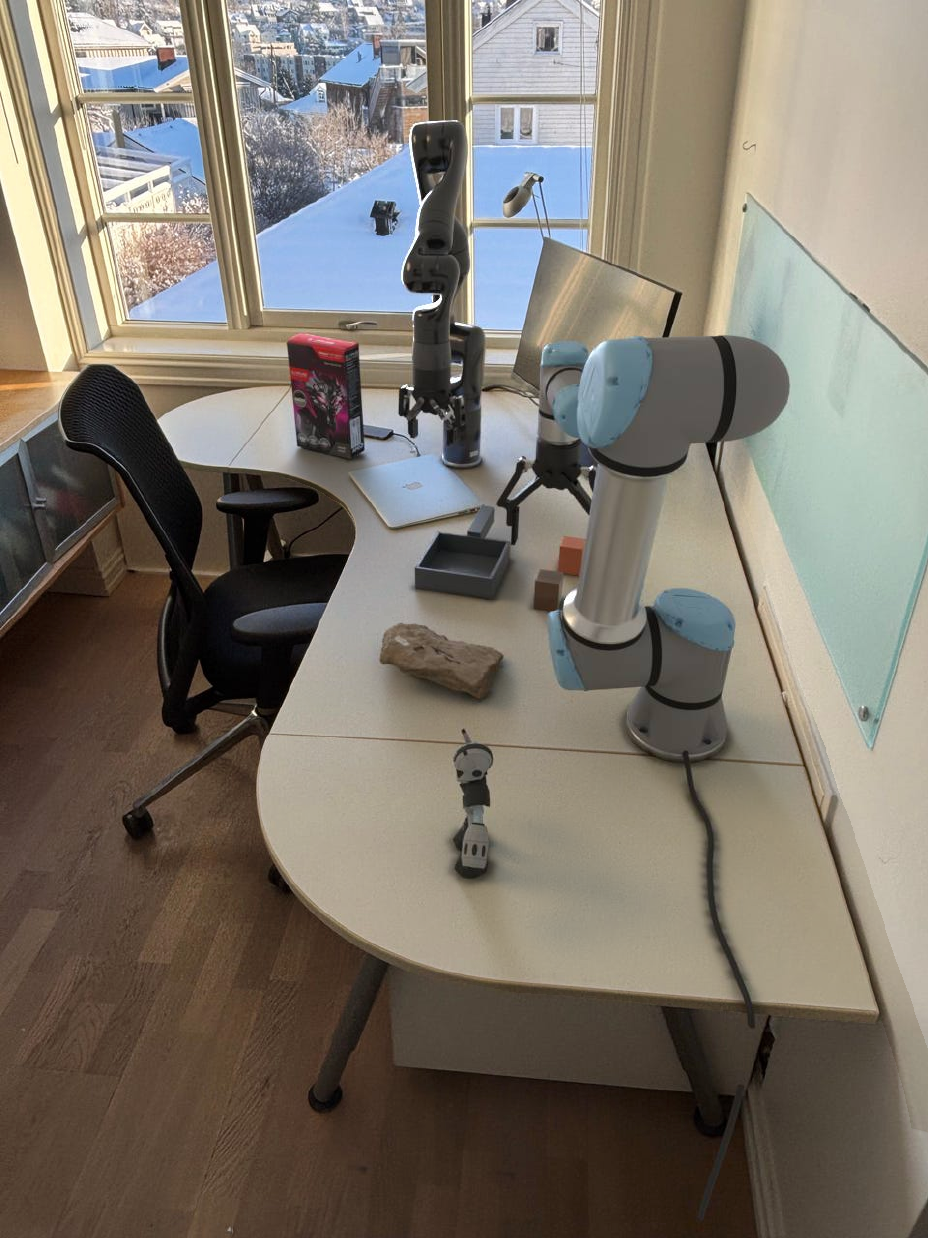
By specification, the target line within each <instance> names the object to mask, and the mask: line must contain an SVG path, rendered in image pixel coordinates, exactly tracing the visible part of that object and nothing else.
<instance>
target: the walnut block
mask: <svg viewBox="0 0 928 1238" xmlns="http://www.w3.org/2000/svg"><path fill="white" fill-rule="evenodd" d="M563 584H564V572H558V570H549V569H543V568H539V570H538V572H537V575H536V578H535V580H534V593H533V594H534V595H533V609H536V610H540V611H541V610H543V611H548V612H553V611H556V610H559V608H560V605H561V602H562V597H563V587H564V586H563Z"/></svg>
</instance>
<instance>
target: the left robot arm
mask: <svg viewBox="0 0 928 1238" xmlns="http://www.w3.org/2000/svg"><path fill="white" fill-rule="evenodd" d="M409 149H410V156H411V162H412V168H413V172H414V178H415V183H416V187H417V194H418V199H419V205H420V207H419V209H418V212H417V216H416V217H417V218H416V225H415V237H414V240H413V243H412V244H411V246H410V249H409V250H408V253H407V255H406V256H405V260H404V261H403V265H402V268H401V269H402V270H401V281H402V284H403V286H404V288H405V289H406V291H407V292H409V293H410V294H413V295H431V303H429V304H425V305H421V306H418V307H416V308H415V309H414V310H413V313H412V340H413V341H412V347H411V363H412V364H411V365H412V366H411V367H412V369H411V371H412V386H413V387H411V386H410V384H405V385H403V386H401V387H400V388H399V389H398V411H397V412H398V413H397V414H398V416H399V417H403V418H405V419H406V421H407V434H408V435H409V438H410V439H416V438H417V437H418V436H419V418H417V417H418V416H419V414H420V413H421V412H422V413H423V414H432V415H434V416H438V417H439V419H440V420H441V421H442V463H443V464H444V465H445V466H448V467H450V468H455V469H469V468H473V467H474V468H475V467H476V466H478V465H479V464H480V463H481V461H482V456H481V447H482V442H481V441H482V393H483V384H484V379H485V366H486V365H485V364H486V353H487V338H486V337H487V336H486V333H485V331H484V329H483V328H482V327H480V326H478V325H473V324H468V323H462V322H457V320H456V314H455V307H456V305H455V304H456V300H457V297H458V295H459V293H460V291H461V290H462V287H463V286H464V284H465V282H466V280H467V278H468V275H469V273H470V270H471V255H470V245H469V238H468V237H469V236H468V234H467V232H466V230H465V228H464V226H463V225H462V223H461V222H460V221H459V219H458V218H457V217H456V211H457V210H456V209H457V205H458V201H459V199H460V198H459V197H460V195H461V194H460V193H461V190H462V186H463V182H464V177H465V175H466V174H465V173H466V171H467V166H468V165H467V164H468V157H469V156H468V155H469V141H468V136H467V130H466V127H465V125H464V123H462V121H459V120H438V121H426V122H418V123H415V124H413V126H412V127H411V129H410V134H409ZM433 175H442V177H441V178H440V179H439V181H438V182H437V183H436V182H435V179H434V176H433ZM452 365H455V366H459V367H461V374H456V375H452ZM411 397H412V398H413V400H414V401H415V404H414V405H413V406H412V407H411ZM410 408H411V409H410Z"/></svg>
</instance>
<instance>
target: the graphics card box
mask: <svg viewBox="0 0 928 1238" xmlns="http://www.w3.org/2000/svg"><path fill="white" fill-rule="evenodd" d="M286 347H287V359H288V369H289V378H290V389H291V397H292V407H293V418H294V419H293V420H294V428H295V438H296V439H295V441H296V447H299V448H303V449H307V450H310V451H315V452H320V453H323V454H324V453H325V454H329V455H332V456H336V457H341V458H346V459H353V458H354V457H356V456H358V455H360V454H362V453H363V452H365V447H366V446H365V430H364V415H363V414H364V413H363V398H362V381H361V380H362V379H361V363H360V344H359V342H351V341H346V340H342V339H341V340H340V339H336V338H330V337H325V336H319V335H314V334H308V333H304V332H300V333H298V334H295V335H293V336H292V337H290V338H289V339H288V340H287V341H286Z"/></svg>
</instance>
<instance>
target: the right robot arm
mask: <svg viewBox="0 0 928 1238" xmlns="http://www.w3.org/2000/svg"><path fill="white" fill-rule="evenodd" d="M539 370H540V373H539V394H538V395H539V396H538V410H537V423H536V424H537V425H536V434H537V437H536V443H535V457H534V458H535V459H534V460H530V459H527V458H526V457H527V456H524V455H521V456H520V457H519V458H518V460H517V462H516V465H515V470H514V473H513V474H512V476H511V478H510V479H509V481H508V483H507V484H506V486H505V487H504V489H503V491H502V492H501V494H500V495H499V497H498V499H497V501H496V506H497V508H503V509H505V511H506V517H505V524H506V526H507V527H511V531H510V532H511V533H510V546H516V544H517V542H518V541H519V530H520V529H519V528H520V509H521V508H520V506H519V505H521V503H523V502H524V501H525V500H526V499H528V497H529V496H530V495H531V494H533V493H534V492H535V491H537V490H538V489H539V488H540V487H542V486H543V487H545V489H550V490H552V489H555V490H558V491H565V490H567V491H568V492H569V494H570V495H572V496H573V497H574V499H576V501H577V502H578V503H579V505H580V506H581V507H582V509H583V510H584V511H585V513H586V514H587V516H588V519H587V526H586V533H585V538H584V539H585V544H584V550H583V556H582V562H581V569H580V575H579V576H578V582H577V587H576V588H575V589H573V590H571V591H570V592H569V594H567V596H566V598H565V600H564V602H563V605H562V610H561V609H559V608H558V610H556V611H549V613H548V614H547V635H548V643H549V644H548V645H549V650H550V656H551V662H552V663H551V664H552V668H553V672H554V676H555V679H556V682H557V684H558V685H559V687H560V688H562V689H563V690H565V691H583V692H589V691H601V690H614V689H629V688H630V689H631V688H639V689H638V691H637V692H636V694H635V695H634V697H633V699H632V701H631V702H630V704H629V706H628V708H627V712H626V719H625V728H626V732H627V734H628V736H629V738H630V739H631V741H632V742H634V744H636V745H637V746H638V747H639V748H640V749H641V750H643V751H645V752H646V753H648V754H650V755H651V756H654V757H656V758H659V759H662V760H666V761H670V762H675V763H684V766H685V773H686V780H687V781H686V782H687V787H688V791H689V794H690V797H691V799H692V802H693V804H694V805H695V808H696V810H697V811H698V813H699V815H700V816H701V818H702V821H703V823H704V826H705V829H706V834H707V835H706V836H707V851H706V852H707V853H706V885H707V901H708V907H709V912H710V916H711V920H712V924H713V927H714V928H713V929H714V931H715V934H716V936H717V939H718V941H719V943H720V947H721V948H722V951H723V952H724V955H725V957H726V959H727V961H728V963H729V966H730V968H731V971H732V973H733V976H734V978H735V981H736V984H737V986H738V989H739V990H740V993H741V996H742V999H743V1001H744V1004H745V1005H744V1006H745V1011H746V1018H747V1027H748V1028H750V1029H755V1028H756V1019H755V1012H754V1006H753V1001H752V998H751V995H750V993H749V990H748V988H747V985H746V983H745V981H744V979H743V976H742V973H741V971H740V968H739V966H738V963H737V961H736V959H735V957H734V954H733V952H732V950H731V948H730V946H729V944H728V941H727V938H726V937H725V934H724V932H723V930H722V926H721V924H720V919H719V916H718V912H717V907H716V898H715V887H714V869H713V868H714V867H713V866H714V853H715V851H714V850H715V837H714V831H713V826H712V823H711V821H710V818H709V816H708V813H707V812H706V810H705V809H704V807H703V806H702V803H701V802H700V799H699V797H698V795H697V793H696V790H695V786H694V785H695V784H694V779H693V772H692V765H691V763H694V762H700V761H703V760H706V759H709V758H711V757H714V755H716V754H718V752H720V751H721V750H722V748H723V747H724V744H725V743H726V740H727V739H726V738H727V733H728V721H727V716H726V712H725V708H724V707H725V706H724V701H723V692H724V686H725V682H726V678H727V674H728V669H729V664H730V659H731V654H732V651H733V649H734V646H735V640H734V639H735V632H736V618H735V617H734V614H733V612H732V611H731V609H730V608H729V607H728V606H727V605H726V604H725V603H723V602H722V601H721V600H719V599H718V598H716V597H715V596H712V595H711V594H708V593H706V592H704V591H701V590H696V589H692V588H686V587H685V588H684V587H673V588H668V589H665V590H663V591H662V592H660V593H658V595H657V596H656V598H655V599H654V601H653V605H646V606H645V605H644V603H643V602H642V601H641V597H642V592H643V589H644V585H645V580H646V576H647V571H648V567H649V562H650V558H651V555H652V551H653V550H652V549H653V547H654V541H655V537H656V533H657V528H658V524H659V520H660V516H661V512H662V508H663V503H664V500H665V499H664V498H665V496H666V495H665V494H666V490H667V486H668V481H669V477H670V476H671V475H673V474H675V473H677V472H678V471H679V470H681V469H682V468H683V466H684V465H685V463H686V461H687V458H688V456H689V455H688V454H689V450H690V447H691V445H692V444H711V443H712V444H713V443H727V442H733V441H738V440H743V439H746V438H749V437H751V436H755V435H756V434H759V433H760V432H762V431H765V430H766V429H767V428H768V427H770V426H772V424H773V423H774V422H775V421H777V420H778V418H779V417H780V415H781V414H782V413H783V411H784V409H785V407H786V405H787V403H788V400H789V396H790V388H791V385H790V374H789V371H788V369H787V367H786V365H785V363H784V361H783V360H782V358H781V357H780V356H779V355H778V354H777V353H776V352H775V351H774V350H772V349H771V348H770V347H769V346H767V345H766V344H764V343H762V342H760V341H757V340H755V339H752V338H749V337H745V336H738V335H729V334H728V335H727V334H722V335H701V336H700V335H698V336H666V337H645V336H643V335H632V336H630V337H627V338H613V339H607V340H604V341H602V342H601V343H599V345H597V346H595V347H594V348H593V350H592V351H591V352H590V354H589V349H588V348H587V347H586V345H584V344H582V343H580V342H576V341H571V340H557V341H553V342H549V343H547V344H546V345H545V346H544V347H543V349H542V352H541V358H540V364H539ZM582 443H583V444H584V445H585V446H587V448H588V452H589V454H590V456H591V458H592V459H593V460H594V462H595V463H597V464H592V465H590V466H582V465H581V463H580V462H581V449H582ZM530 469H532V472H533V473H534V475H535V476H534V477H533V479H532V480H531V481H530V482H528V483H527V484H526V485H525V486H524V487H523V488H522V489H521V490H520V491H519V492H517V493H516V494H515V495H514V496H513V497H512V498H509V496H510V495H511V493H512V491H513V490H514V489H515V487H516V485H517V484H518V482H519V480H520V479H521V477H522V475H523V473H527V472H528V471H529V470H530ZM581 475H582V476H583V477H584V479H585V481H588V484H589V487H590V491H591V493H592V494H591V495H592V496H591V497H590V495H589V494H588V492H587V491H586V490H585V488H583V486H582V484H581V482H580V480H579V479H578V478H579V477H580V476H581ZM744 1091H745V1085H744V1084H739V1083H737V1085H736V1090H735V1094H734V1098H733V1102H732V1106H731V1110H730V1114H729V1117H728V1121H727V1124H726V1127H725V1130H724V1133H723V1137H722V1140H721V1143H720V1146H719V1149H718V1152H717V1155H716V1158H715V1159H714V1160H715V1161H714V1164H713V1167H712V1169H711V1172H710V1174H709V1178H708V1181H707V1183H706V1184H707V1185H706V1187H705V1190H704V1193H703V1197H702V1200H701V1202H700V1206H699V1210H698V1213H697V1219H698V1220H699V1221H703V1220H704V1218H705V1213H706V1211H707V1207H708V1205H709V1201H710V1199H711V1195H712V1192H713V1189H714V1186H715V1183H716V1181H717V1178H718V1175H719V1172H720V1170H721V1166H722V1165H723V1161H724V1158H725V1156H726V1152H727V1151H728V1150H727V1149H728V1146H729V1144H730V1141H731V1138H732V1134H733V1131H734V1128H735V1125H736V1121H737V1117H738V1114H739V1111H740V1107H741V1102H742V1098H743V1094H744Z"/></svg>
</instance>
